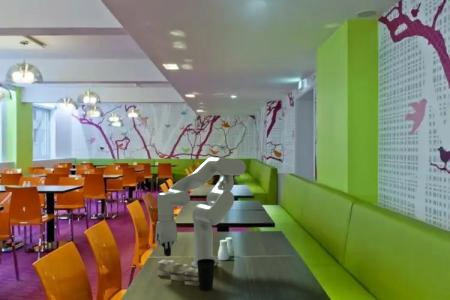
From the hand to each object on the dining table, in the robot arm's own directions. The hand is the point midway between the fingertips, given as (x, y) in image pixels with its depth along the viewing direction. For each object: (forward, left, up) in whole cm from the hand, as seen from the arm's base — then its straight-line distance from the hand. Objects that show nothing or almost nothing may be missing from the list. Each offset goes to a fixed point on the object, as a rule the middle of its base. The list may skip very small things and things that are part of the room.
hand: (167, 255), depth 205 cm
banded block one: (-8, +5, -9) cm, 13 cm away
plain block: (+1, +1, -9) cm, 9 cm away
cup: (-25, +14, -9) cm, 30 cm away
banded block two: (-17, +9, -9) cm, 21 cm away
